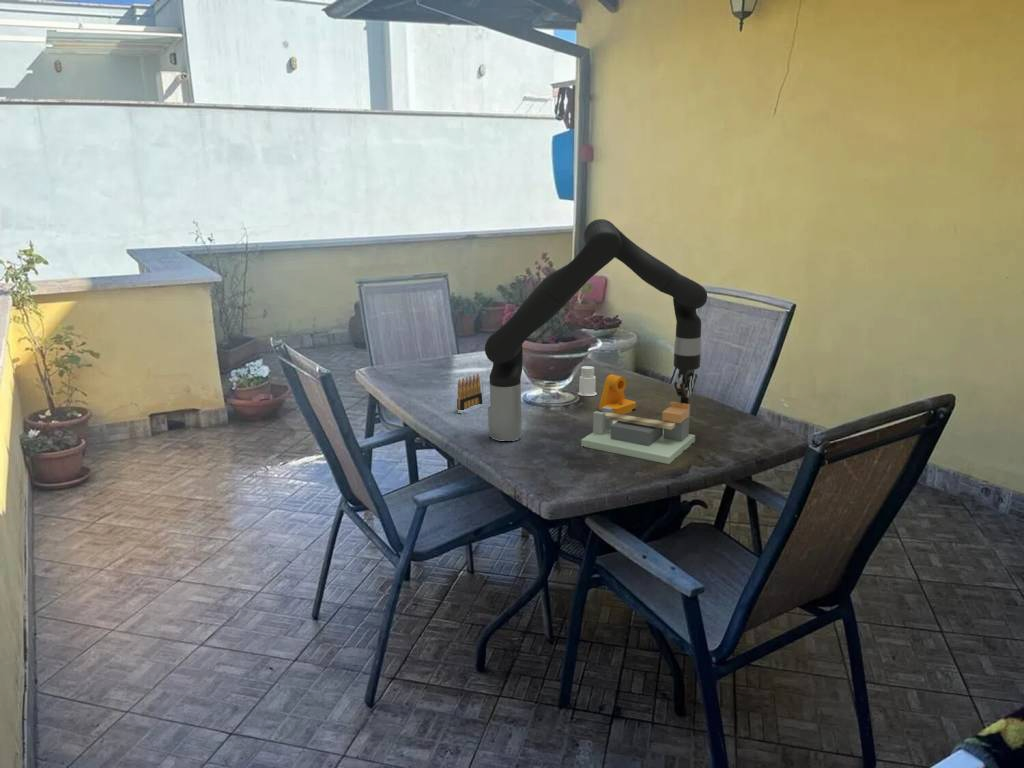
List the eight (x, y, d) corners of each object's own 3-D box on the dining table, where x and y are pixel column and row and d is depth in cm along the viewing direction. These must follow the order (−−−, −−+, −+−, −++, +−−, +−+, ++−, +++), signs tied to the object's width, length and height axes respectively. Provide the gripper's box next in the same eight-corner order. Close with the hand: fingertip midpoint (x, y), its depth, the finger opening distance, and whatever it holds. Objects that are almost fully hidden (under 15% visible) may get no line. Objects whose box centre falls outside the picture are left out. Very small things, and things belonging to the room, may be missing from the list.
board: (581, 446, 209) (581, 418, 206) (611, 426, 225) (612, 400, 222) (668, 464, 194) (670, 434, 192) (694, 441, 210) (696, 414, 208)
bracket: (615, 417, 233) (616, 381, 230) (599, 412, 239) (599, 377, 235) (637, 409, 240) (637, 375, 237) (620, 405, 245) (621, 371, 242)
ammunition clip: (461, 414, 239) (459, 380, 236) (457, 413, 241) (455, 379, 237) (482, 406, 247) (481, 373, 244) (478, 405, 248) (477, 372, 245)
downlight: (591, 398, 253) (592, 370, 251) (573, 395, 257) (574, 368, 254) (600, 393, 260) (601, 366, 258) (582, 390, 263) (583, 364, 261)
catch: (662, 420, 205) (662, 407, 204) (671, 413, 210) (671, 401, 209) (680, 423, 202) (681, 410, 201) (689, 416, 207) (689, 404, 206)
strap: (598, 418, 213) (598, 413, 213) (603, 415, 215) (603, 410, 215) (671, 430, 201) (671, 425, 200) (675, 427, 203) (675, 422, 203)
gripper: (691, 358, 200) (688, 416, 204) (707, 348, 210) (704, 404, 215) (666, 354, 204) (664, 412, 208) (683, 345, 214) (680, 400, 219)
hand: (684, 408), depth 212 cm, fingers closed
